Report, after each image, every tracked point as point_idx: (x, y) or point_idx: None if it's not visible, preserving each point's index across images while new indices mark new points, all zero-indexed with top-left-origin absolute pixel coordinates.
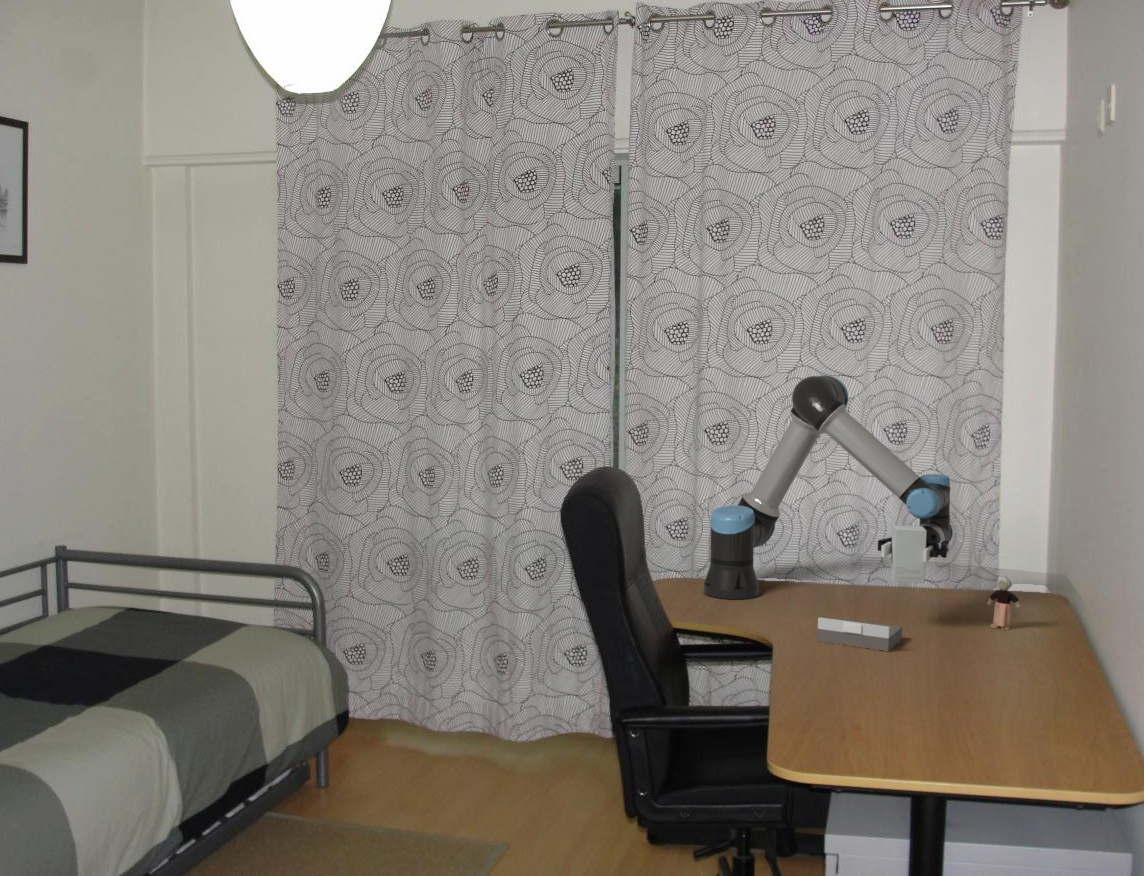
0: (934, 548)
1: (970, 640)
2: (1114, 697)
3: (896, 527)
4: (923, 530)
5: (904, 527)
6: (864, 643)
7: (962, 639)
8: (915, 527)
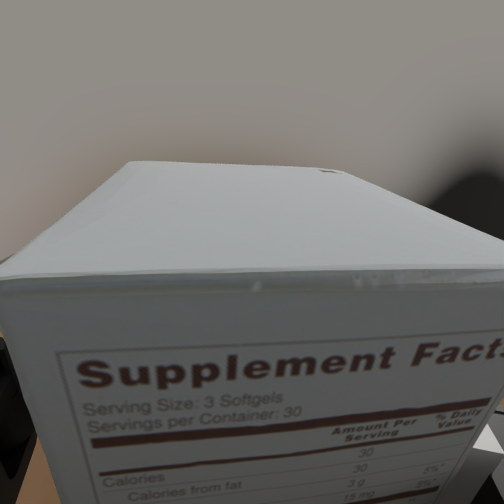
0: (14, 376)
1: (33, 483)
2: (8, 257)
3: (390, 194)
4: (150, 162)
5: (318, 189)
6: None
7: (55, 487)
8: (200, 194)
